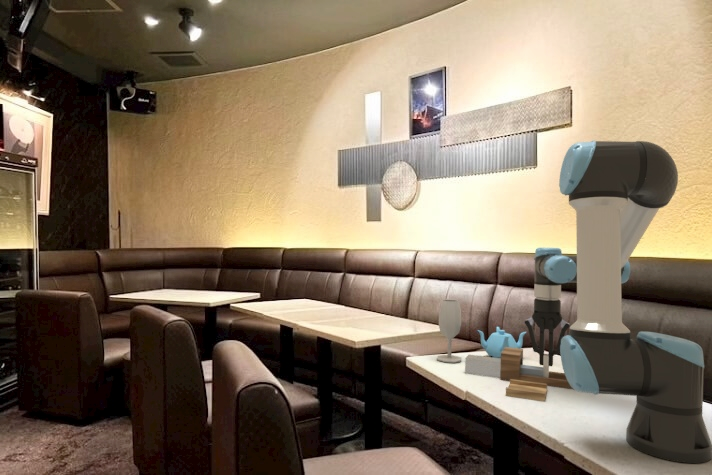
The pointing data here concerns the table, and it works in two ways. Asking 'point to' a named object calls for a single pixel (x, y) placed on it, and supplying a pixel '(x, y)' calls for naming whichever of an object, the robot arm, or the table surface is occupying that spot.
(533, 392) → the tan tray
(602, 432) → the table surface
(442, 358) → the wineglass
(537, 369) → the block
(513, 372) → the brown wooden forked piece
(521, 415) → the table surface
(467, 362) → the block
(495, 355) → the teapot
